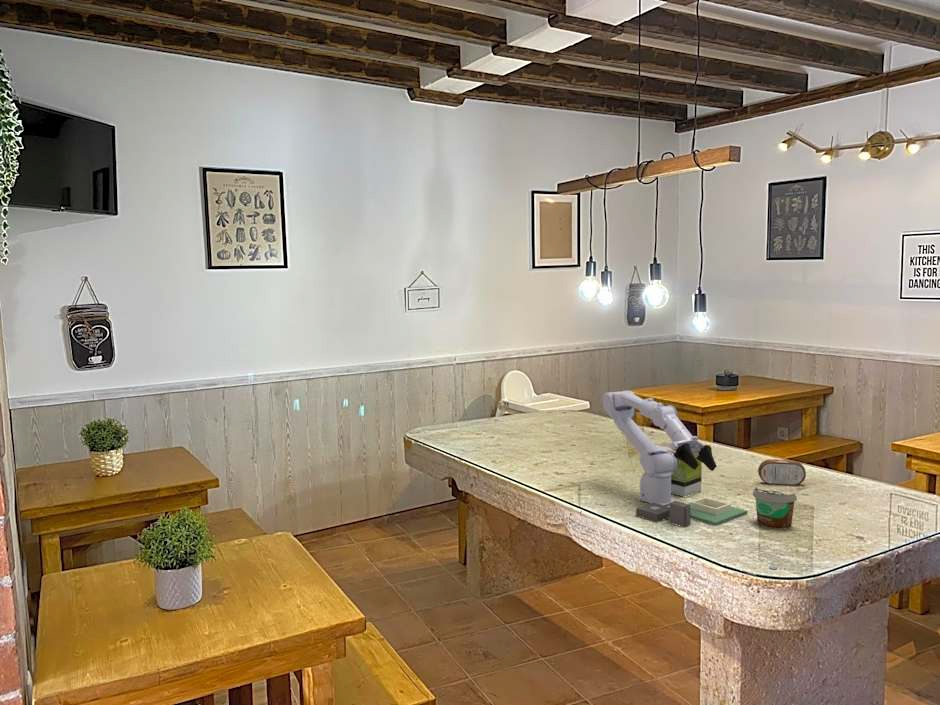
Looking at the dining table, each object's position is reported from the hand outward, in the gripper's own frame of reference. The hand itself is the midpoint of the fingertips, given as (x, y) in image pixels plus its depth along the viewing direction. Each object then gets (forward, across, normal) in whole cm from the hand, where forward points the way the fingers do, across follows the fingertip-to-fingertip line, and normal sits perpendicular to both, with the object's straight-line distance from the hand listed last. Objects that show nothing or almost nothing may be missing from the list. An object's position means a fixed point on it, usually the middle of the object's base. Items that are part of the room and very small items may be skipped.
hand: (705, 467), depth 215 cm
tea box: (-16, +20, +26) cm, 36 cm away
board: (+4, +10, +15) cm, 18 cm away
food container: (+18, +16, +4) cm, 24 cm away
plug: (+7, -4, +16) cm, 18 cm away
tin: (-6, +53, +11) cm, 54 cm away
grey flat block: (+1, -4, +21) cm, 21 cm away
